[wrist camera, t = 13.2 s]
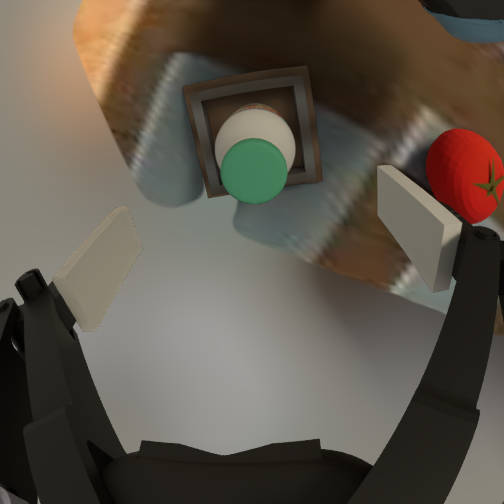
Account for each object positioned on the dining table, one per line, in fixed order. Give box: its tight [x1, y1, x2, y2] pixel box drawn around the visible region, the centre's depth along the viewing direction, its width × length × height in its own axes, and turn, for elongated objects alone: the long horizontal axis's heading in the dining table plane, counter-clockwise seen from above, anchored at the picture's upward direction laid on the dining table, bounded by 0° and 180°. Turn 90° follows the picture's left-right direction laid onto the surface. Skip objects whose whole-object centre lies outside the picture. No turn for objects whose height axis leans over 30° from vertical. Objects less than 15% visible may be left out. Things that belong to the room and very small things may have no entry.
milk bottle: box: [215, 104, 295, 204], centre depth 29 cm, size 8×8×20 cm
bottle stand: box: [183, 66, 323, 198], centre depth 36 cm, size 16×16×4 cm
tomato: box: [426, 129, 504, 224], centre depth 34 cm, size 12×14×11 cm
